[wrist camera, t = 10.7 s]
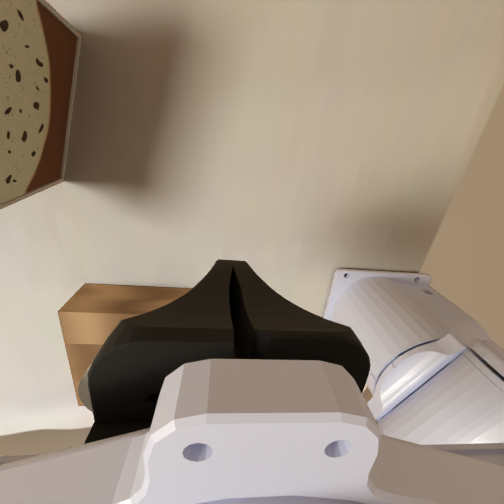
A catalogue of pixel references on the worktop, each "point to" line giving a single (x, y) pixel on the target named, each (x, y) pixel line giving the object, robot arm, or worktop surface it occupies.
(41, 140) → the food container
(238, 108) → the worktop surface
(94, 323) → the block
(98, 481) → the robot arm
